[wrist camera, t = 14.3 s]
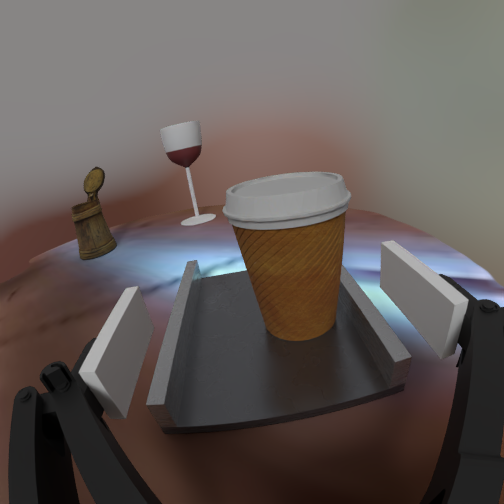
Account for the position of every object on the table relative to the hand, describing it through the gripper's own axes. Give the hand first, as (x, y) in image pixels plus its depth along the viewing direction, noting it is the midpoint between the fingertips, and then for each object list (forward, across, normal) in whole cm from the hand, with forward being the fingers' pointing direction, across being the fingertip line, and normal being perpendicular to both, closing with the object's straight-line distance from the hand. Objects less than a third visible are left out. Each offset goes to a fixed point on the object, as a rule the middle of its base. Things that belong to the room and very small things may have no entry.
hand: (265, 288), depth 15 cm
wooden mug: (+46, -33, -9) cm, 57 cm away
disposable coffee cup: (+8, +3, -8) cm, 12 cm away
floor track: (+9, 0, -9) cm, 13 cm away
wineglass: (+53, -11, -9) cm, 55 cm away
